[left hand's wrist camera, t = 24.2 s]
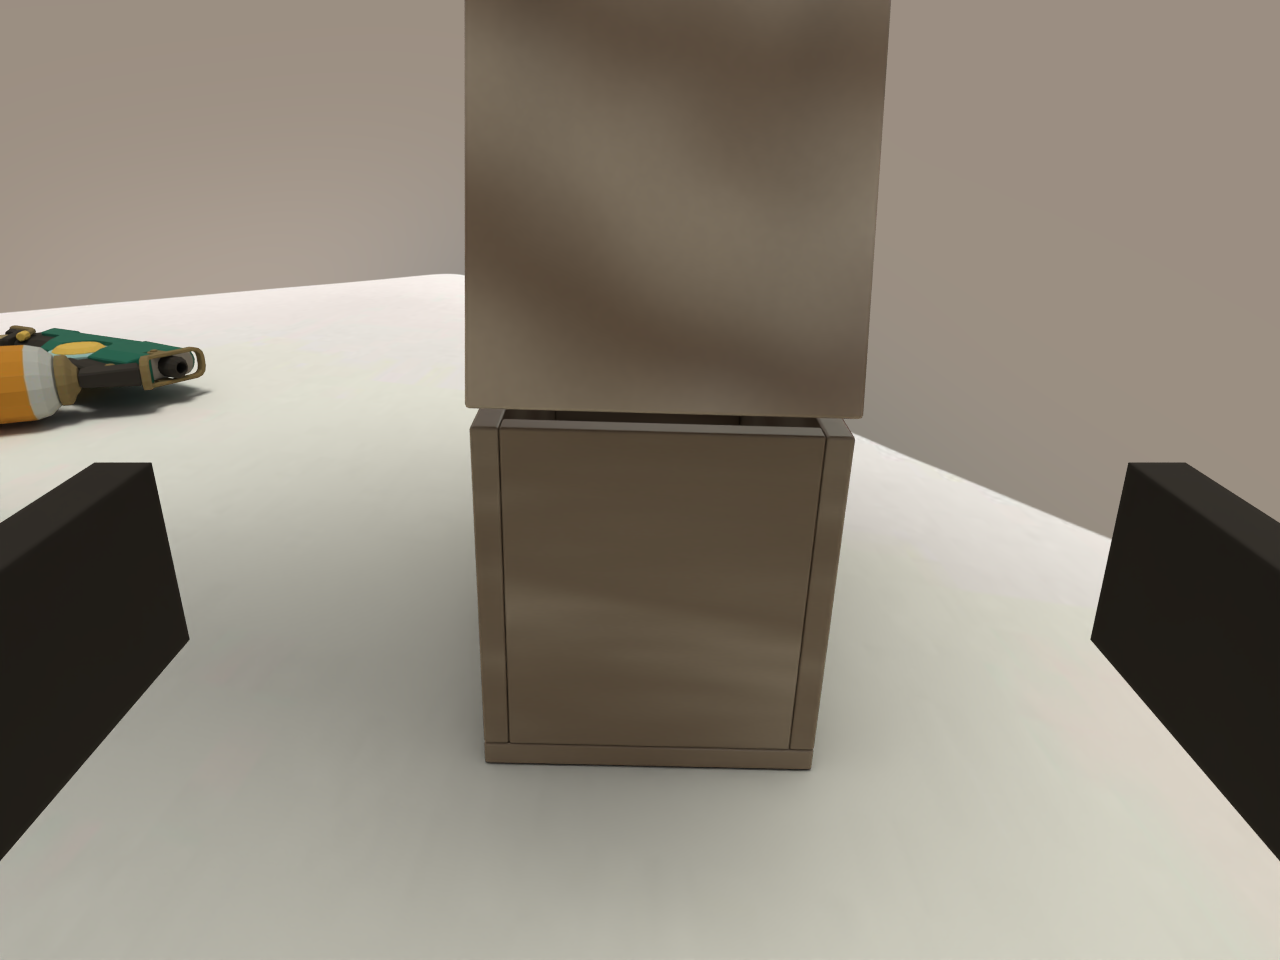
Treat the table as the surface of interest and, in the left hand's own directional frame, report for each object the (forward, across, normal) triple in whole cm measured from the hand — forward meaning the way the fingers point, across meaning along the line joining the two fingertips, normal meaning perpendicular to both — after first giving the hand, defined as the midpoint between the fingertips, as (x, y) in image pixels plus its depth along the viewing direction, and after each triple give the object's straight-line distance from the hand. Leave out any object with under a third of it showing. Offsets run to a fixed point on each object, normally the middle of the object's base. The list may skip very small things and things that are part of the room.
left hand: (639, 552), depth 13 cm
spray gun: (+42, -36, -10) cm, 56 cm away
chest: (+19, 0, -12) cm, 22 cm away
